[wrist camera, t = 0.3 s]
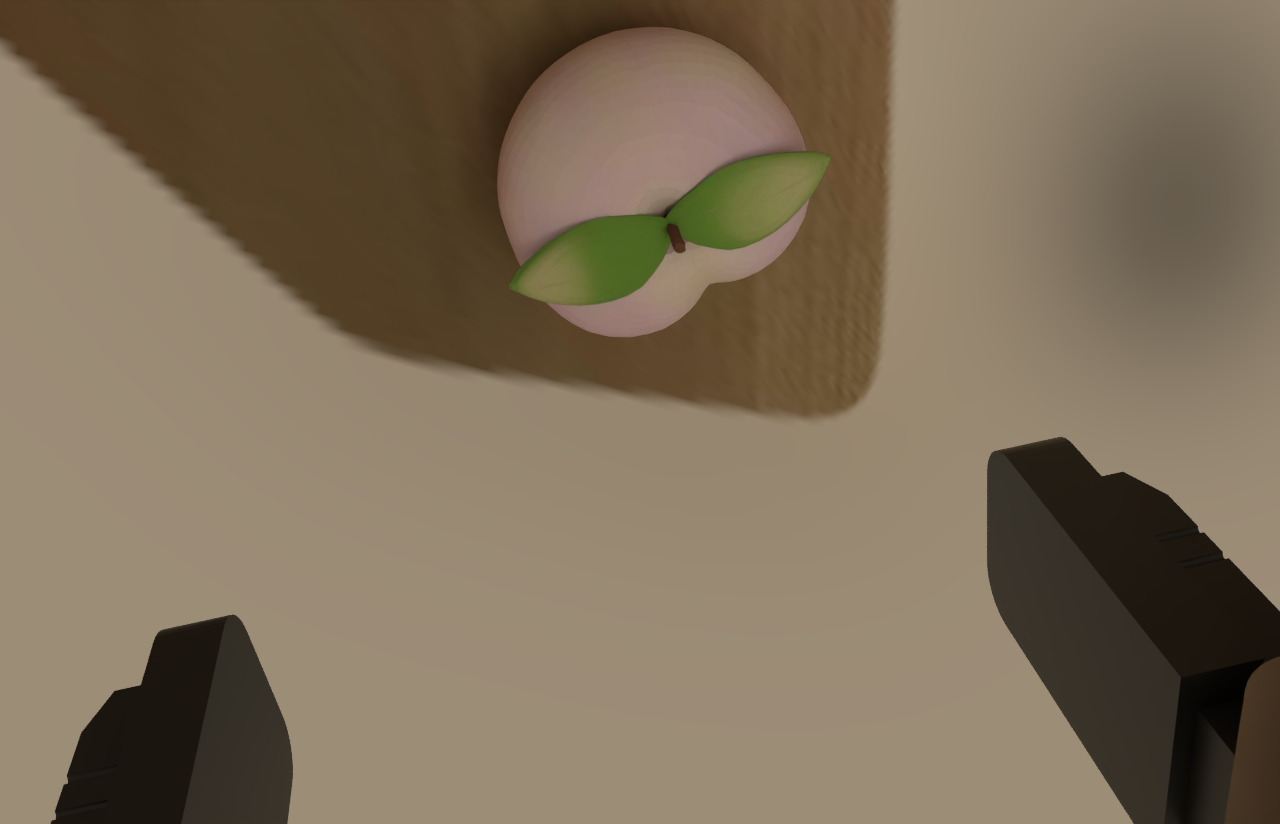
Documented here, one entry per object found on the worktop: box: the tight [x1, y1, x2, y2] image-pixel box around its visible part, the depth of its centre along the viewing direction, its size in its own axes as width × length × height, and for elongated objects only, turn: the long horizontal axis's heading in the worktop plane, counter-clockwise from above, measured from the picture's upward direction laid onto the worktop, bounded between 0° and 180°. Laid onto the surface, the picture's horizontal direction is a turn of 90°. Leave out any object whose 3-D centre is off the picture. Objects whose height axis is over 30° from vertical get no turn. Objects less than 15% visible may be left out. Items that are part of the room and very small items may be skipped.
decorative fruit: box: [497, 27, 831, 337], centre depth 35 cm, size 9×8×10 cm
